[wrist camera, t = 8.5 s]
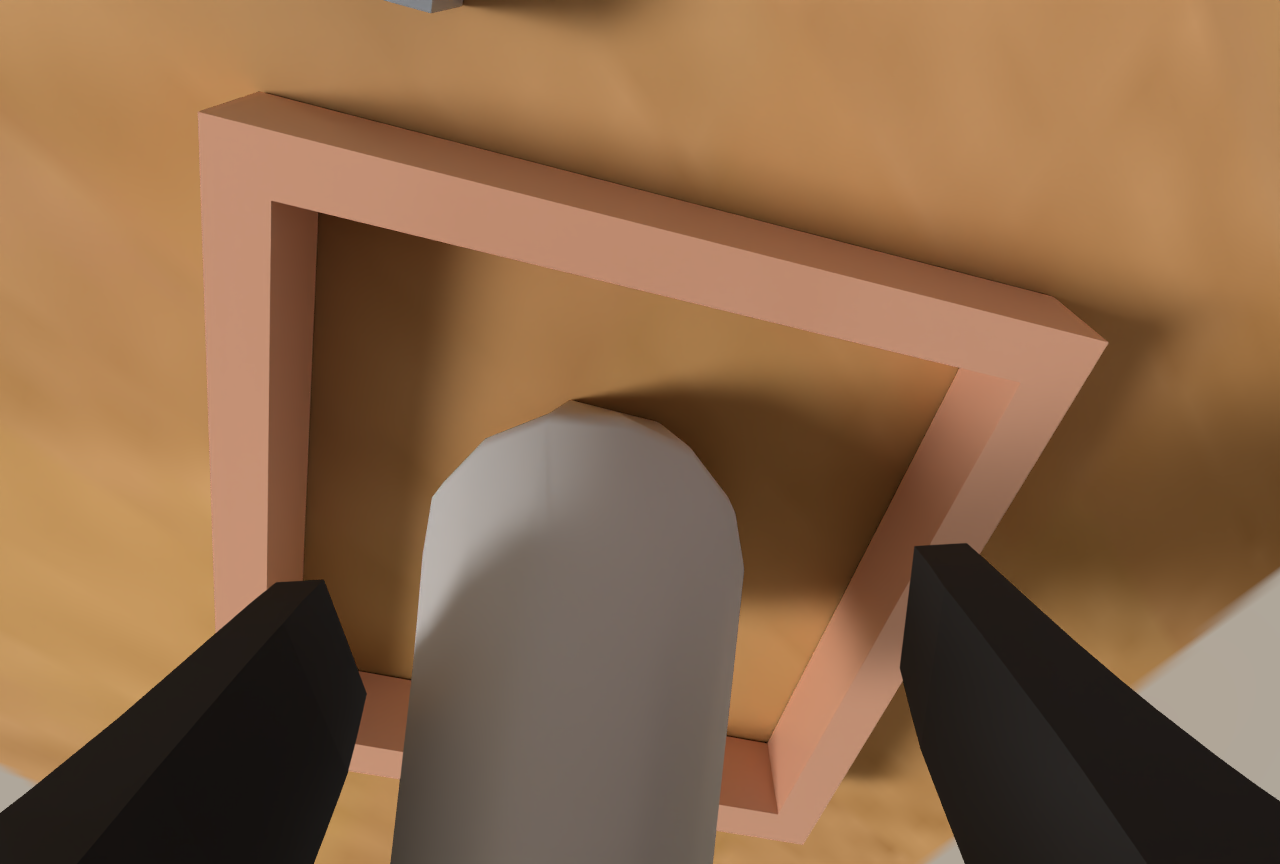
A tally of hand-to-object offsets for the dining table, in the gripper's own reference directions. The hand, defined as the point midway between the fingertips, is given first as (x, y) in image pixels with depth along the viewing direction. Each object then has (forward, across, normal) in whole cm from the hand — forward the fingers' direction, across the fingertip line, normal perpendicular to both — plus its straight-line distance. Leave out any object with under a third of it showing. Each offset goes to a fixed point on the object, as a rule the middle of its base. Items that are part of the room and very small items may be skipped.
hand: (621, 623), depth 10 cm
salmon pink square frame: (+6, +1, +3) cm, 7 cm away
